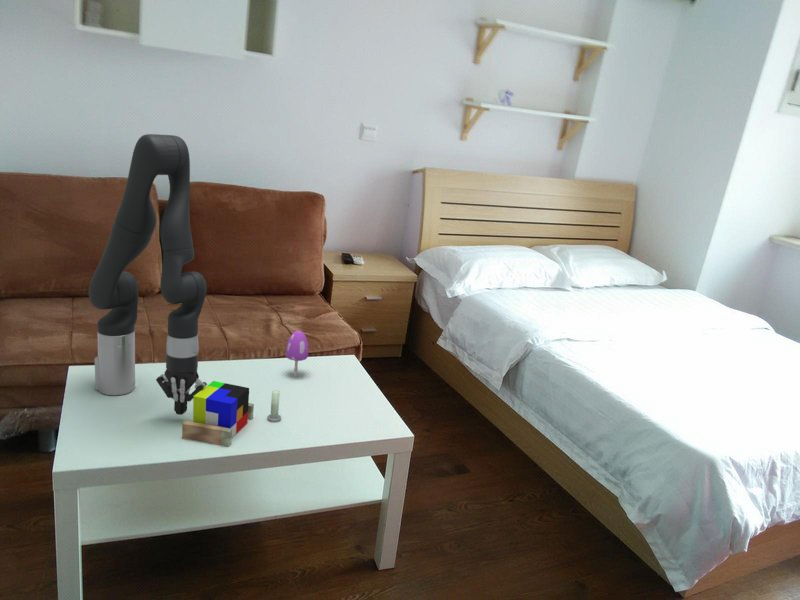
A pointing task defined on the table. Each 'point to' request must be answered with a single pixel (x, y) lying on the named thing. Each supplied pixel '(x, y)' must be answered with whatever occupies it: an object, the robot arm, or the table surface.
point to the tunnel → (210, 431)
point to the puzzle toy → (222, 406)
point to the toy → (297, 348)
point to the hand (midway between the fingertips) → (180, 413)
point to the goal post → (274, 407)
